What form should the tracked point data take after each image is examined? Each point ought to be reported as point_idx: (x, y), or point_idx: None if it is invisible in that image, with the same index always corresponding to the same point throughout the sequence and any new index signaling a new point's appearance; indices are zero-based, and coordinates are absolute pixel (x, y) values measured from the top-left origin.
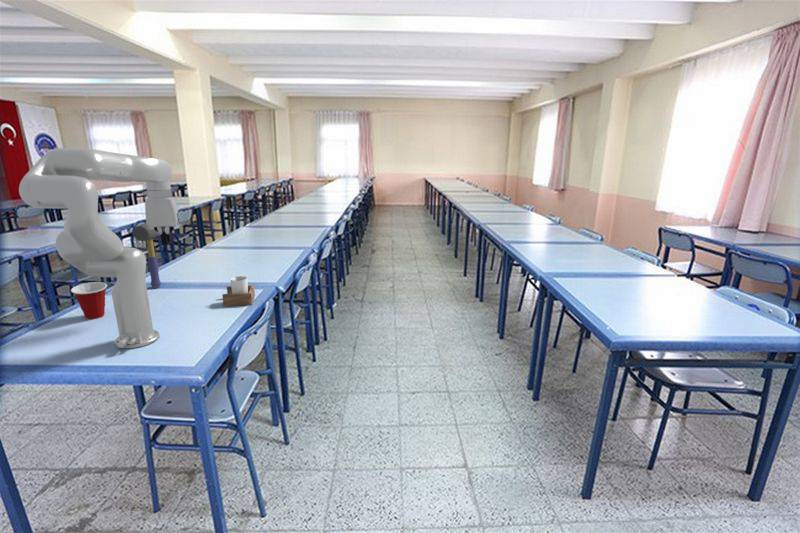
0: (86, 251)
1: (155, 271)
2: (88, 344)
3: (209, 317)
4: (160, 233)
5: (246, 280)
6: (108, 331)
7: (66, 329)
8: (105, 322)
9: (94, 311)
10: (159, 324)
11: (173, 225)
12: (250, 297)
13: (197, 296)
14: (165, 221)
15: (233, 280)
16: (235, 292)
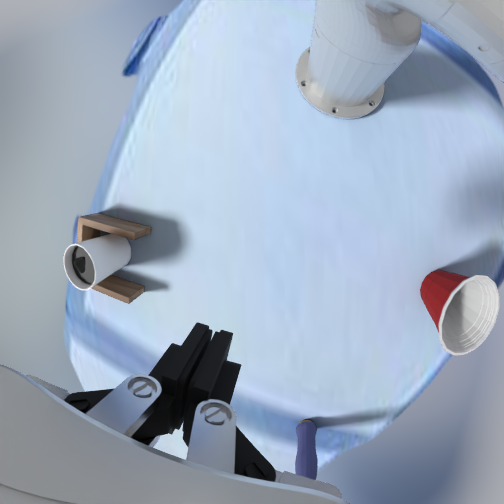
0: None
1: (303, 449)
2: (429, 112)
3: (183, 158)
4: (218, 409)
5: (67, 252)
6: (409, 167)
7: (473, 227)
8: (419, 234)
9: (443, 273)
10: (303, 156)
11: (11, 369)
12: (87, 215)
13: None
14: (36, 456)
15: (87, 251)
16: (108, 242)
